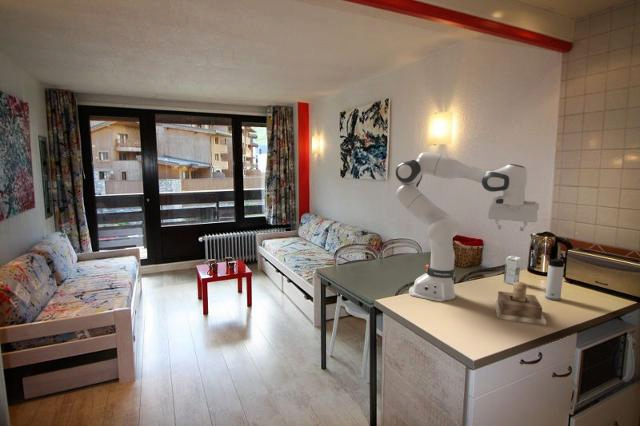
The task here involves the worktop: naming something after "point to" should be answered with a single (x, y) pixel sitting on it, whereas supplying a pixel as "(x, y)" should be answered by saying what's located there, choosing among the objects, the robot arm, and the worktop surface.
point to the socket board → (519, 309)
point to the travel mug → (554, 279)
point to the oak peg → (519, 292)
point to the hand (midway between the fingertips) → (510, 230)
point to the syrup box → (512, 269)
